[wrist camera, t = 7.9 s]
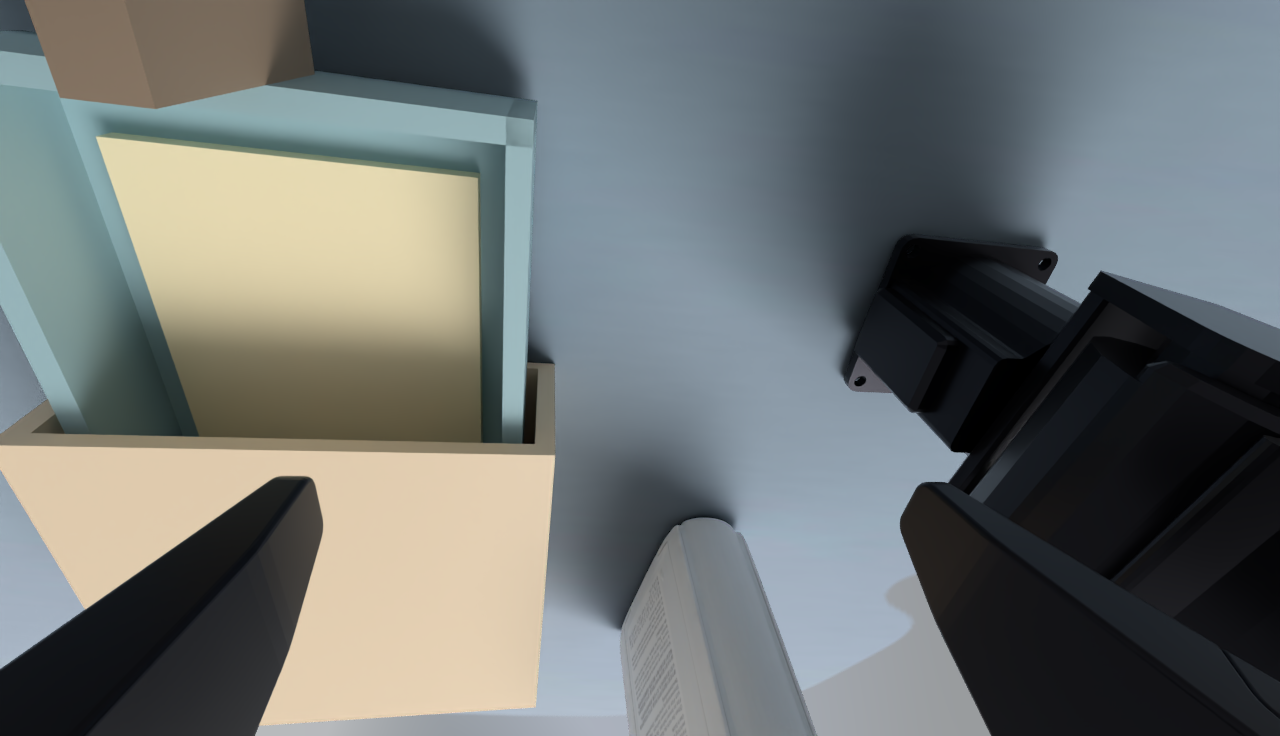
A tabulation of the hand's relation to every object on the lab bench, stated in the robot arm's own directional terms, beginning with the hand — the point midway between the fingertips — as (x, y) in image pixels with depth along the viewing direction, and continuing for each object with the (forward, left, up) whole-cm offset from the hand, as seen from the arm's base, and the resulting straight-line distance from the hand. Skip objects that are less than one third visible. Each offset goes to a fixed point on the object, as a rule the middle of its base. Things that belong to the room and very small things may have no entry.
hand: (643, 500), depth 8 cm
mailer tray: (+8, +1, -11) cm, 14 cm away
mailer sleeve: (+8, +12, -12) cm, 19 cm away
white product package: (-6, +18, -12) cm, 23 cm away
